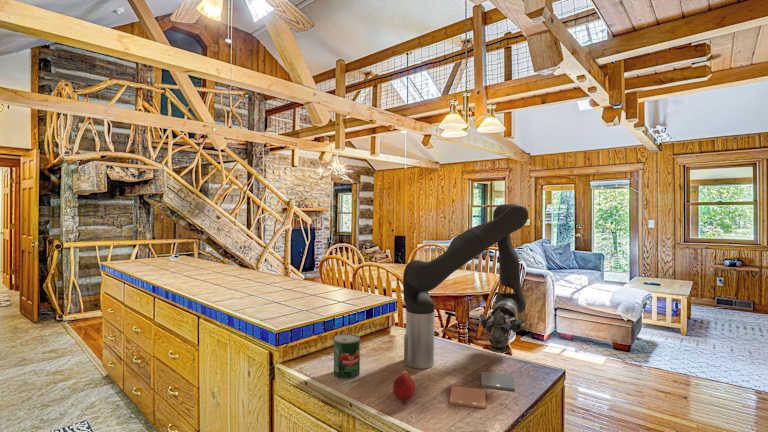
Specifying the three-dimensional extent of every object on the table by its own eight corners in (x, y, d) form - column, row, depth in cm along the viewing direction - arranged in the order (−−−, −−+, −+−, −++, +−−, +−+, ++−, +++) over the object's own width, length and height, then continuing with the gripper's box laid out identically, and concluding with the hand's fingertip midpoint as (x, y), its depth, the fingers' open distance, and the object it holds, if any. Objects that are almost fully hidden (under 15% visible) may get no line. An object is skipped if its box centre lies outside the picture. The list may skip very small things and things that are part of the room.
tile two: (449, 403, 99) (449, 401, 99) (452, 387, 107) (452, 385, 107) (485, 408, 96) (485, 406, 96) (485, 392, 105) (485, 389, 105)
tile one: (481, 386, 108) (481, 384, 108) (481, 373, 117) (481, 371, 117) (514, 390, 106) (514, 388, 106) (512, 377, 115) (512, 375, 115)
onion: (408, 410, 95) (408, 378, 95) (388, 404, 98) (388, 373, 98) (418, 400, 100) (419, 370, 100) (399, 394, 103) (400, 365, 103)
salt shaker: (508, 354, 108) (508, 312, 107) (486, 351, 110) (487, 310, 109) (509, 347, 113) (509, 307, 113) (488, 344, 115) (489, 305, 115)
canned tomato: (345, 366, 121) (345, 332, 121) (365, 372, 116) (365, 337, 116) (328, 375, 115) (328, 338, 114) (348, 382, 110) (348, 344, 110)
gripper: (482, 300, 127) (472, 314, 111) (527, 305, 121) (523, 320, 106) (482, 323, 127) (471, 339, 112) (527, 328, 121) (523, 347, 106)
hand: (497, 330), depth 109 cm, fingers closed on salt shaker, 3 cm apart
